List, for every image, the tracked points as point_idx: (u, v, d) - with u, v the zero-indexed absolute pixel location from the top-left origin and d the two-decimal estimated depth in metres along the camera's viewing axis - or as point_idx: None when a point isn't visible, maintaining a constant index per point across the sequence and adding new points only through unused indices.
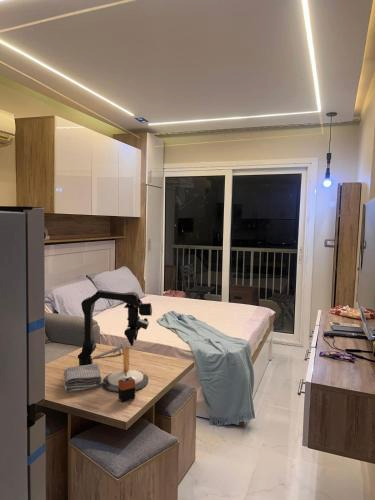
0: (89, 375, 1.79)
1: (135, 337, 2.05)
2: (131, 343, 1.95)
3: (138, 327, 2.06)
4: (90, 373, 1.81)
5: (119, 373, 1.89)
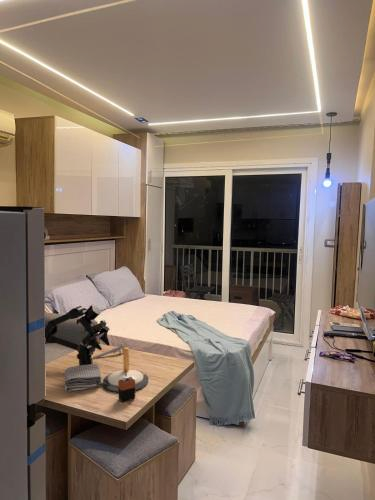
0: (89, 375, 1.79)
1: (107, 342, 2.01)
2: (98, 348, 1.94)
3: None
4: (90, 373, 1.82)
5: (119, 373, 1.89)
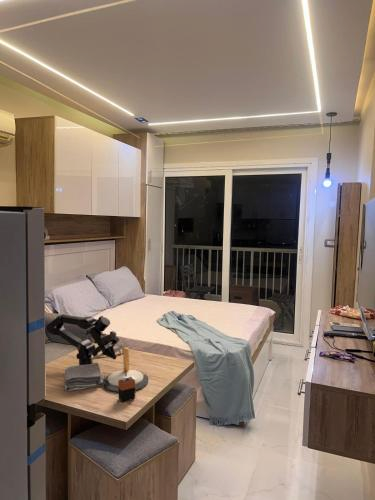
0: (89, 374, 1.80)
1: None
2: (112, 357, 1.95)
3: None
4: (90, 372, 1.82)
5: (119, 373, 1.89)
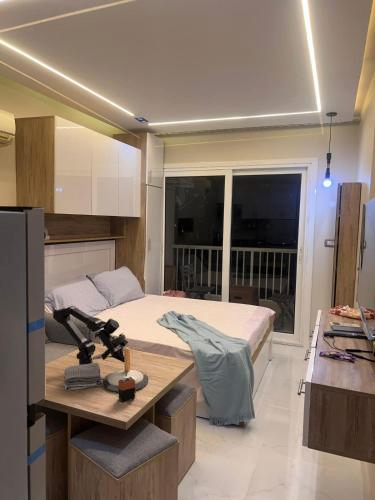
0: (89, 374, 1.80)
1: None
2: (122, 360, 1.93)
3: None
4: (90, 372, 1.82)
5: (120, 373, 1.90)
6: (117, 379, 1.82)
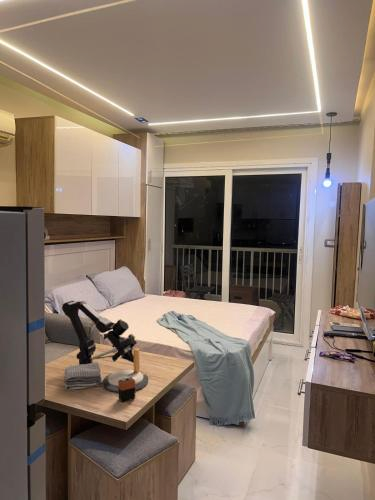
0: (89, 374, 1.80)
1: None
2: (132, 361, 1.92)
3: (129, 349, 1.95)
4: (90, 372, 1.83)
5: (127, 372, 1.91)
6: (116, 376, 1.85)
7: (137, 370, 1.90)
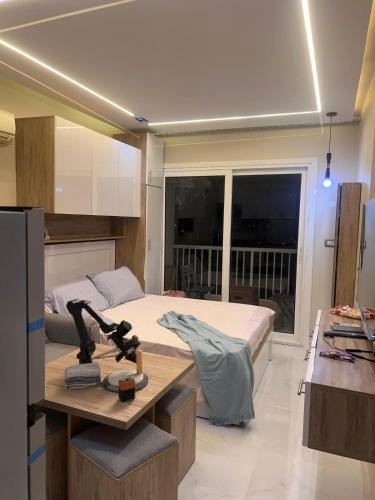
0: (89, 374, 1.80)
1: None
2: (135, 362, 1.91)
3: (133, 350, 1.93)
4: (90, 371, 1.83)
5: (130, 372, 1.91)
6: (117, 375, 1.86)
7: (139, 371, 1.88)
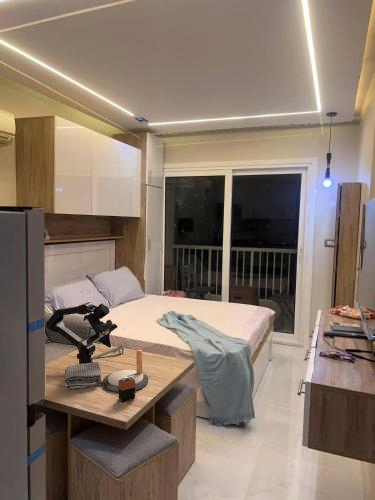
0: (89, 373, 1.81)
1: None
2: (107, 345, 1.96)
3: (107, 334, 1.98)
4: (90, 371, 1.84)
5: (130, 372, 1.91)
6: (117, 375, 1.86)
7: (139, 371, 1.88)
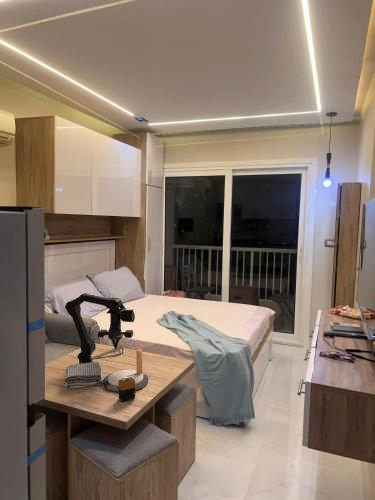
0: (89, 373, 1.81)
1: None
2: None
3: (118, 337, 1.97)
4: (90, 371, 1.84)
5: (130, 372, 1.91)
6: (117, 375, 1.86)
7: (139, 371, 1.88)
